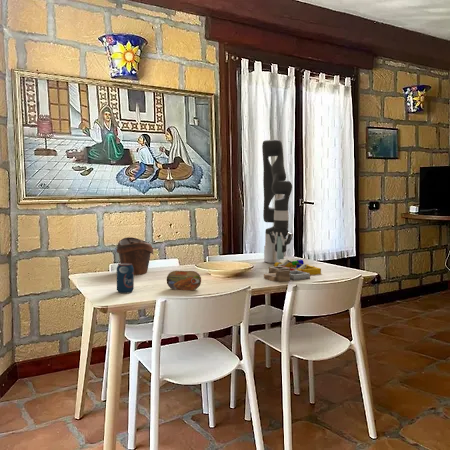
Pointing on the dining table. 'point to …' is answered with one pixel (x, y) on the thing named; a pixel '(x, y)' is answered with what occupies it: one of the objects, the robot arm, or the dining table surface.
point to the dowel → (279, 248)
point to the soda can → (125, 278)
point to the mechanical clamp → (299, 266)
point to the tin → (183, 280)
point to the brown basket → (135, 253)
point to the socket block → (274, 269)
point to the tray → (299, 275)
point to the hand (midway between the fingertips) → (280, 251)
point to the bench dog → (282, 275)
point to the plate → (270, 276)
